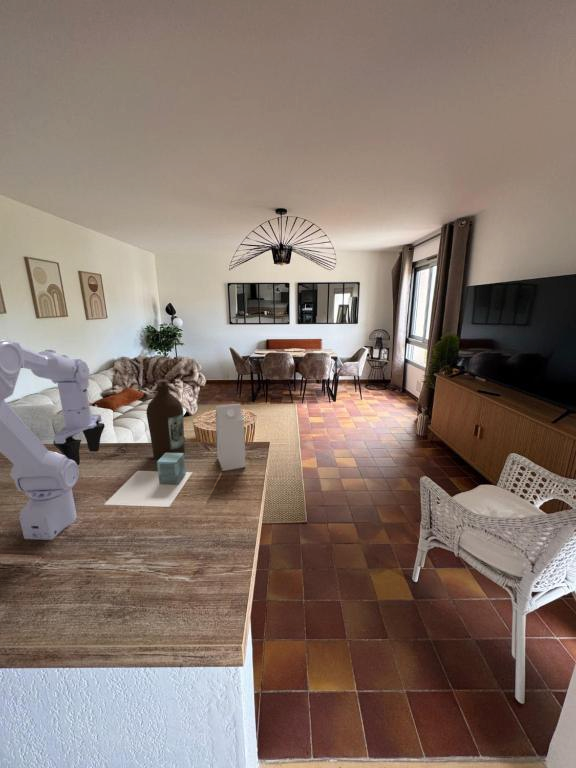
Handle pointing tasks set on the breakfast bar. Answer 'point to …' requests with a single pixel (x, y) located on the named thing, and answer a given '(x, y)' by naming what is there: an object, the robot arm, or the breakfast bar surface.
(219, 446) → the milk carton
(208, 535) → the breakfast bar surface
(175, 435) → the olive oil
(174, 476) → the teal brushed cube
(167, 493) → the base board
